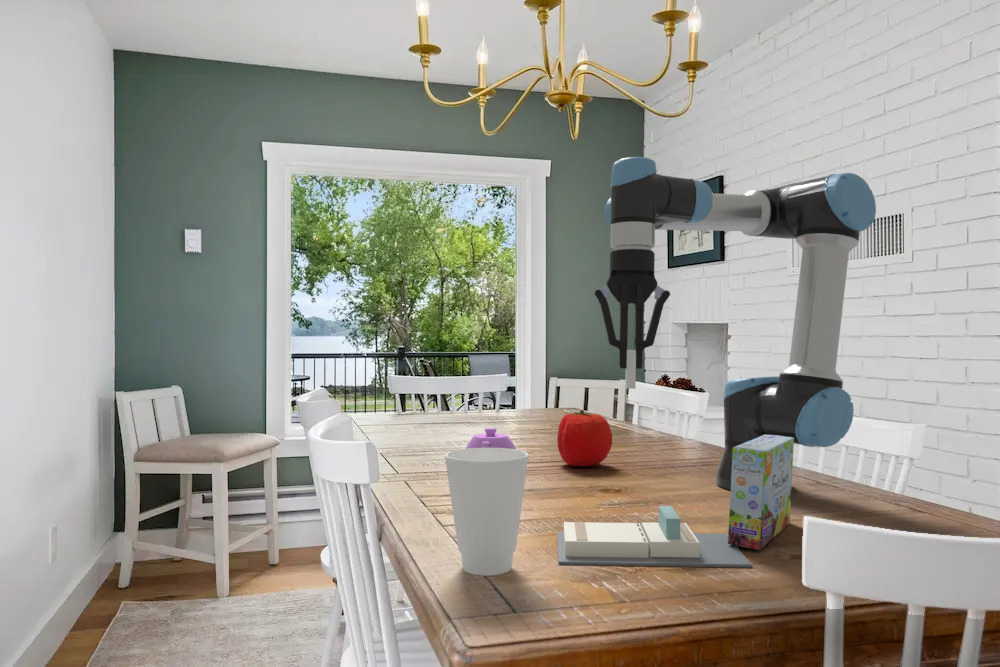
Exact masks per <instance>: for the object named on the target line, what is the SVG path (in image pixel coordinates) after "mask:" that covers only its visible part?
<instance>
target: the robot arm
mask: <svg viewBox="0 0 1000 667" xmlns="http://www.w3.org/2000/svg"><path fill="white" fill-rule="evenodd" d="M657 171H658V170H657V166H656V162H655V160H653V159H650V158H649V157H643V156H631V157H630V156H629V157H624V158H621V159H618V160H616V161H615V162H614V163H613V164H612V169H611V177H610V179H611V180H610V184H609V188H610V198H609V199H608V200H607V202H606V203H605V206H604V219H605V222H606V223H607V225H608V226H609V227H610V235H609V236H610V240H609V241H610V242H609V245H610V246H609V247H610V248H611V249H612V251H611V252H610V253H609V277H608V279H607V281H606V285H604V286H602V287H601V288H599V289H597V290H595V292H594V293H593V294H594V297H595V298H596V300H597V302H598V303H599V306H600V309H601V313H602V318H603V323H604V327H605V331H606V332H605V333H606V336H607V340H608V344H609V345H610V346H612V347H615V348H617V349H618V351H619V352H618V354H619V356H618V366H619V368H620V369H625V381H624V382H625V389H627V390H628V389H631V390H632V389H636V386H637V383H636V380H637V379H636V376H637V374H636V373H637V371H636V370H640V369H642V368H643V351H644V349H646V348H649V347H651V346H654V344H655V339H656V336H657V332H658V327H659V325H660V320H661V317H662V316H661V315H662V311H663V308H664V305H665V304H666V302H667V300H668V299H669V297H670V296H671V293H670V292H671V291H669V290H665V289H664V288H662V287H661V286H659V285H658V280H657V279H656V276H655V260H656V259H655V256H656V254H655V252H654V251H653V249H654V248H655V245H656V230H657V231H658V230H660V231H661V230H665V231H708V232H709V231H712V232H713V231H714V232H715V231H717V232H718V231H719V232H721V231H723V232H741V233H742V234H744V235H745V236H747V237H765V238H776V239H788V240H789V239H790V240H795V242H796V243H797V244H798V246H799V247H800V248H801V249H802V253H801V261H800V269H799V277H798V278H799V279H798V287H797V294H796V304H795V311H794V321H793V329H792V337H791V346H790V352H789V361H788V365H787V367H786V368H785V369H783V370H782V371H781V372H779V376H761V377H760V376H759V377H749V378H748V377H747V378H738V379H731V380H729V381H727V383H726V384H725V386H724V397H723V413H724V414H723V415H724V419H723V420H724V421H723V422H724V423H723V424H724V449H723V450H724V451H723V453H722V456H721V460H720V462H719V466H718V468H717V471H716V475H715V476H716V485H717V486H718V487H720V488H723V489H727V490H730V491H731V474H732V452H733V447H736V446H738V445H740V444H743V443H745V442H748V441H750V440H753V439H755V438H758V437H760V436H763V435H778V436H785V437H793V438H794V445H795V444H796V445H802V446H804V447H809V448H814V447H816V448H817V447H819V448H828V447H833V446H834V445H837V443H839V442H840V441H841V439H844V437H845V436H846V435H847V433H849V431H850V428H851V425H852V422H853V419H854V412H855V411H854V404H853V402H852V398H851V395H850V394H849V392H847V391H846V390H844V389H843V383H844V380H843V379H842V378H841V376H840V375H839V374H838V373H837V362H838V352H839V346H840V345H839V344H840V343H839V342H840V334H841V325H842V318H843V310H844V309H843V308H844V302H845V301H844V299H845V293H846V292H845V291H846V282H847V271H848V264H849V255H850V251H852V250H854V248H856V247H857V246H858V245H859V241H860V234H861V232H864V231H865V230H867V229H869V227H871V224H873V223H874V221H875V219H876V214H877V204H876V198H875V195H874V193H873V191H872V189H871V188H870V186H869V183H868V182H867V181H866V180H865V179H864V178H862V177H861V176H860V175H858V174H856V173H853V172H843V173H842V172H841V173H831V174H829V175H826V176H821V177H817V178H814V179H813V178H812V179H809V180H805V181H804V180H803V181H800V182H794V183H790V184H786V185H782V186H778V187H774V188H770V189H765V190H759V189H757V190H750V191H747V192H746V193H744V194H734V193H733V194H732V193H713V191H712V188H711V187H710V185H709V184H707V183H706V182H704V181H701V180H696V179H693V178H684V177H676V176H670V175H669V176H668V175H663V174H659V173H657ZM609 292H610V293H611V295H613V298H614V299H615V300H616V301H617V303H619V329H618V330H619V334H618V335H619V339H617V336H616V332H615V326H614V324H613V319H612V315H611V310H610V305H609V302H608V299H609ZM653 293H654V296H653V297H654V300H656V301H655V303H654V307H653V309H652V315H651V317H650V321H649V325H648V329H647V333H646V336H645V340H644V307H645V306H644V304H645V303H646V302H647V301H648V299H649V298H650V296H651V295H652V294H653ZM630 304H632V305H634V341H633V342H634V344H633V345H634V349H628V340H629V339H628V338H629V336H628V335H629V334H628V332H629V331H628V330H629V327H628V326H629V321H628V320H629V305H630Z"/></svg>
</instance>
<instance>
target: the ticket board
mask: <svg viewBox="0 0 1000 667" xmlns="http://www.w3.org/2000/svg"><path fill="white" fill-rule="evenodd" d="M556 532H557V533H556V534H557V535H556V536H557V560H558V563H557V564H558V565H571V566H572V565H573V566H574V565H575V566H576V565H579V566H581V565H582V566H634V567H635V566H636V567H637V566H640V567H641V566H642V567H643V566H645V567H647V566H649V567H695V568H696V567H700V568H703V567H704V568H706V567H707V568H708V567H709V568H716V567H717V568H752V567H753V564H752V563H751V562H750V561H749V559H748V558H747V557H746V556H745V555H744V553H743V552H742V551H741V550H740V549H739V547H738V546H735V545H731V544H728V535H727V534H726V533H701V532H700V533H694V532H693V534H694V535H695V536H696V538H697V539H698V541H699V542H700V558H684V557H650V554H649V548H648V540H647V538H646V536H645V534H644V532H643V530H642V527H641V523H639V522H593V521H592V522H590V521H589V522H586V521H585V522H583V521H582V522H581V521H580V522H579V521H576V522H575V521H574V522H573V521H572V522H571V521H570V522H569V521H568V522H567V521H563V531H556Z"/></svg>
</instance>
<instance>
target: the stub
mask: <svg viewBox="0 0 1000 667" xmlns="http://www.w3.org/2000/svg"><path fill="white" fill-rule="evenodd" d="M640 525H641V527H642V530H643V532H644V534H645V536H646V538H647V540H648V548H649V554H650V557H684V558H700V542H699V541H698V539H697V538H696V536H695V535H694V534H693V533H694V532H693V531H692V530H691V528H690V526H689V525H688V524H687V522H681V518H680V516H679V515H678V513H677V512H676V510H675V509H674V507H673V506H672V505H658V522H641V523H640Z"/></svg>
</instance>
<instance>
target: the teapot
mask: <svg viewBox="0 0 1000 667" xmlns="http://www.w3.org/2000/svg"><path fill="white" fill-rule="evenodd" d="M497 430H498V429H497V428H495V427H485V429H484V433H478V434H475V435H473V436H472V437H471V439H470V441H469V442H468V444H467V445H466V447H465V449H469V448H507V449H516V450H517V448H516V446H515V444H514V443H513V441H512V440H511V437H510V436H508V435H507V434H504V433H497Z"/></svg>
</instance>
